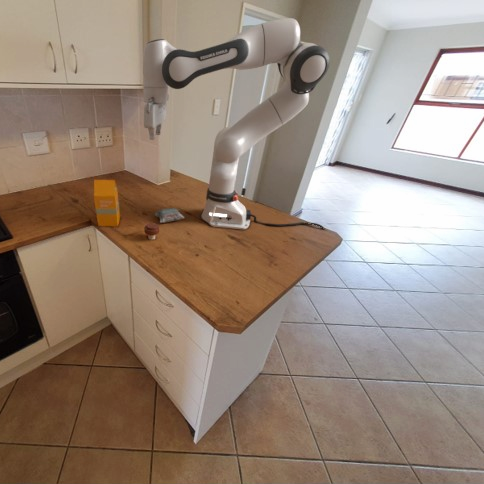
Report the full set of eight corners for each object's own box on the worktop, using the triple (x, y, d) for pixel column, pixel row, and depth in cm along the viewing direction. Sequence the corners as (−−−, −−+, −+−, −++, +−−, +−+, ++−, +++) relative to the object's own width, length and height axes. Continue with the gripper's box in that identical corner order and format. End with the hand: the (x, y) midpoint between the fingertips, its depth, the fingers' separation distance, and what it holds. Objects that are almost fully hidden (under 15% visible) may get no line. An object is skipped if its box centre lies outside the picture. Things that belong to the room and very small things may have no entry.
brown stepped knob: (158, 233, 106) (158, 221, 103) (159, 241, 101) (159, 228, 98) (144, 234, 106) (144, 221, 103) (144, 242, 101) (144, 229, 98)
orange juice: (117, 226, 111) (113, 183, 100) (97, 226, 111) (91, 182, 99) (120, 218, 117) (116, 176, 106) (101, 217, 117) (95, 176, 106)
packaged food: (184, 222, 115) (185, 212, 112) (160, 226, 112) (160, 216, 109) (177, 214, 122) (177, 205, 119) (154, 217, 118) (154, 208, 116)
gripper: (157, 99, 82) (156, 143, 90) (169, 95, 98) (168, 132, 106) (138, 98, 83) (139, 142, 91) (154, 94, 100) (154, 131, 107)
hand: (155, 137), depth 99 cm, fingers open, 8 cm apart
